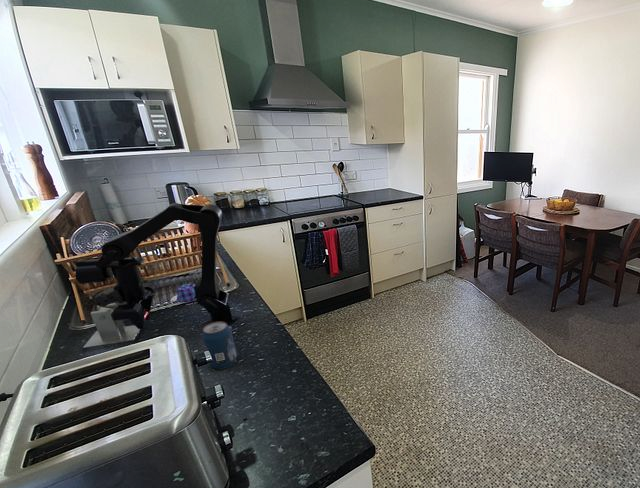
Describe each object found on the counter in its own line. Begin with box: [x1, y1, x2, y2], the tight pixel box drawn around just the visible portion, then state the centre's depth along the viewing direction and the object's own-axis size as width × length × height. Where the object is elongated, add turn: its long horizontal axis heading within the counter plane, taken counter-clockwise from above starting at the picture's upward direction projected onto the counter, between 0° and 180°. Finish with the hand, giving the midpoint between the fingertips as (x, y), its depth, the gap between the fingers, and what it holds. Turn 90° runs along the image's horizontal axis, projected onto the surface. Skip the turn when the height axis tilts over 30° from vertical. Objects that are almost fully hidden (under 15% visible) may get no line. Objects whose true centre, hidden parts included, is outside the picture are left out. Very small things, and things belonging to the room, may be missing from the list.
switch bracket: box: [82, 302, 142, 350], centre depth 104 cm, size 12×9×11 cm
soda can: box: [201, 321, 238, 370], centre depth 96 cm, size 7×7×12 cm
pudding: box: [170, 283, 198, 306], centre depth 129 cm, size 12×12×5 cm
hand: (143, 324), depth 108 cm, fingers closed on switch lever, 5 cm apart
